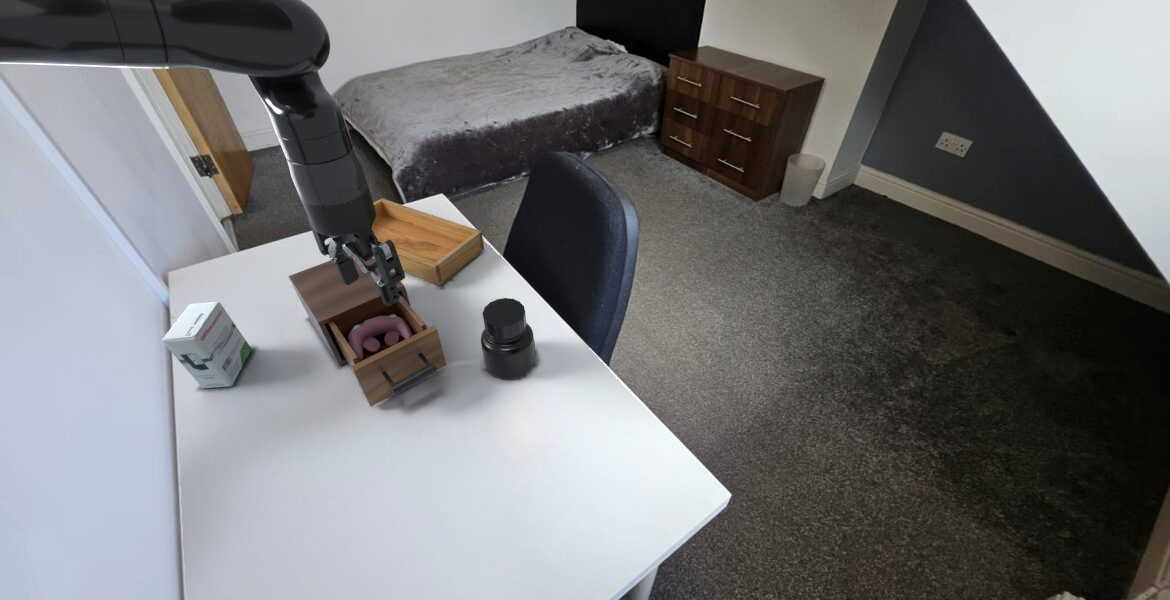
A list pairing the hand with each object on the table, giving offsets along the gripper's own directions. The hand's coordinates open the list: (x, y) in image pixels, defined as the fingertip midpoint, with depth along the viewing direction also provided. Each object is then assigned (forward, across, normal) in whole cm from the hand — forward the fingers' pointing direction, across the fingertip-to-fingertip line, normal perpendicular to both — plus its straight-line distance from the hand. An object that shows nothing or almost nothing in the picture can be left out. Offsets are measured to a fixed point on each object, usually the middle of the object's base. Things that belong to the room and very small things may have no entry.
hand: (371, 291), depth 66 cm
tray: (+20, +28, -28) cm, 44 cm away
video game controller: (+17, +6, -2) cm, 18 cm away
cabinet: (+20, +17, -6) cm, 27 cm away
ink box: (+20, +28, +14) cm, 37 cm away
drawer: (+19, +2, -1) cm, 19 cm away
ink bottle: (+20, -12, -13) cm, 27 cm away
